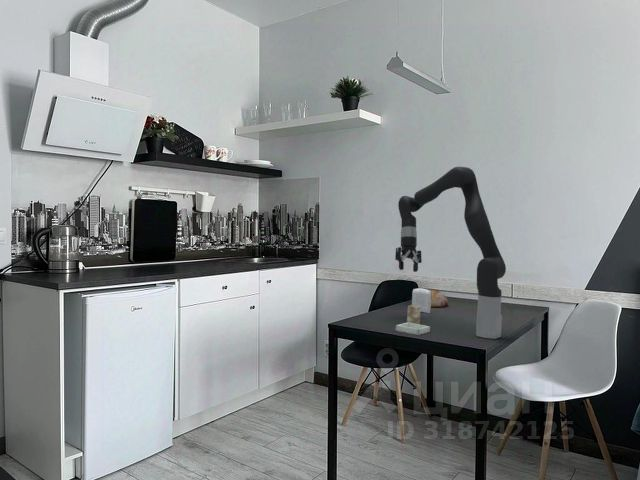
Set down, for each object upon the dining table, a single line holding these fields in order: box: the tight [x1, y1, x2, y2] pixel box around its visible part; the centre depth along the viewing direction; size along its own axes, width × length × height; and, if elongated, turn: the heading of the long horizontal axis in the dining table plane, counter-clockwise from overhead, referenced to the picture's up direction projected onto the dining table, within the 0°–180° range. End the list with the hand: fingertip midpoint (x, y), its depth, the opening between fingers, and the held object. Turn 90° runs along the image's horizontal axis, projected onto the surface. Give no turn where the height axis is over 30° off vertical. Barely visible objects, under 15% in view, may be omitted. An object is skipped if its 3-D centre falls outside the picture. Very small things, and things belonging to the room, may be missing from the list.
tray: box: [395, 321, 431, 336], centre depth 215 cm, size 11×10×2 cm
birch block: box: [406, 304, 421, 325], centre depth 227 cm, size 4×4×9 cm
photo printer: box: [411, 287, 432, 314], centre depth 265 cm, size 10×4×12 cm, turn 56°
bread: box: [427, 288, 449, 308], centre depth 288 cm, size 16×20×10 cm
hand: (408, 270), depth 237 cm, fingers open, 8 cm apart
